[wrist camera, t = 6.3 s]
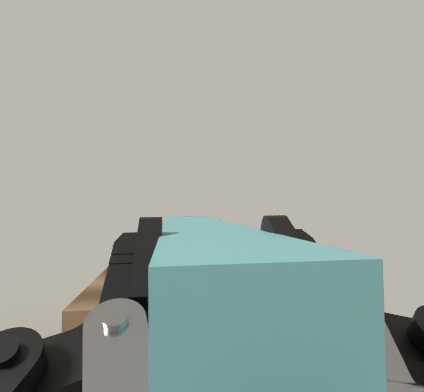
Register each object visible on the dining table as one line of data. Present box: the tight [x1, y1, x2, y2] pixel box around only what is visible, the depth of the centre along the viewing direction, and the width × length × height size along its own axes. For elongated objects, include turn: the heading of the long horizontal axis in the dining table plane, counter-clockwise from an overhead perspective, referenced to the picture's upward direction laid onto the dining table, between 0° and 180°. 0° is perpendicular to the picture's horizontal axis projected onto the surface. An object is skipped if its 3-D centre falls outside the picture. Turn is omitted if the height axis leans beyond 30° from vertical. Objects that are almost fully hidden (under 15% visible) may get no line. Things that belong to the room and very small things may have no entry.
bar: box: [148, 216, 387, 392], centre depth 17 cm, size 26×4×4 cm, turn 8°
